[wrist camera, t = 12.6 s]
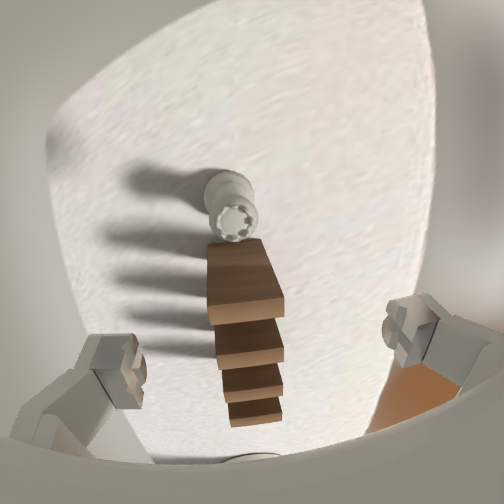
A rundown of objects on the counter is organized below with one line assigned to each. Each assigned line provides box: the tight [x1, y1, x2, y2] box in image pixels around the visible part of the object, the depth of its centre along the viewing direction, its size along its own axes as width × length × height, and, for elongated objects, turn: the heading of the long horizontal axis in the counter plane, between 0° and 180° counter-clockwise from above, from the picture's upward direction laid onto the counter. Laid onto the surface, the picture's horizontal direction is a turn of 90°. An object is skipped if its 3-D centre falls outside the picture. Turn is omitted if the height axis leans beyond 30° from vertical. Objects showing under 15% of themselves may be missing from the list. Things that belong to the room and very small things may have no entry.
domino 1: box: [207, 239, 284, 325], centre depth 23 cm, size 2×5×10 cm, turn 94°
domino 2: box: [215, 318, 284, 370], centre depth 25 cm, size 2×5×10 cm, turn 94°
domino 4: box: [228, 396, 282, 428], centre depth 29 cm, size 2×5×10 cm, turn 94°
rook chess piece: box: [203, 171, 258, 242], centre depth 22 cm, size 4×4×8 cm
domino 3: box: [222, 363, 283, 403], centre depth 27 cm, size 2×5×10 cm, turn 93°
